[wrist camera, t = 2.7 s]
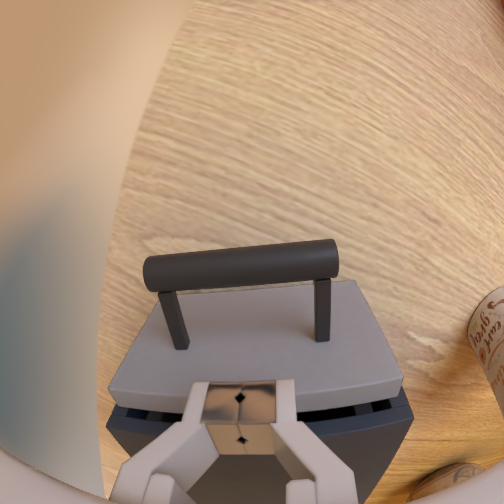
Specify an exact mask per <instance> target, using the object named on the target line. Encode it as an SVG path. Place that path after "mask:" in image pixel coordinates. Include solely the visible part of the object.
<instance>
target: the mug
mask: <svg viewBox="0 0 504 504" xmlns="http://www.w3.org/2000/svg"><path fill="white" fill-rule="evenodd" d="M468 340H469V342H470V344H471V346H472V348H473V350H474V352H475V354H476V356H477V358H478V360H479V362H480V364H481V366H482V368H483V370H484V373H485V375H486V377H487V379H488V381H489V383H490V386H491V388H492V390H493V393H494V395H495V397H496V400H497V402H498V405H499V407H500V410H501V412H502V415H503V417H504V287H500V288H498V289H496V290H494V291H493V292H491V293H490V294H489V295H488V296H487V297H486V298H485V299H484V300H483V301H482V302H481V304H480V305H479V306H478V308H477V309H476V311H475V313H474V315H473V316H472V319H471V321H470V324H469V328H468Z"/></svg>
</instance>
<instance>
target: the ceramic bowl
mask: <svg viewBox="0 0 504 504" xmlns="http://www.w3.org/2000/svg"><path fill="white" fill-rule="evenodd" d="M483 470H485V469H484V468H483V467H482V466H480V465H478V464H474V463H460V464H454V465H450V466H447V467H444V468H442V469H440V470H438V471H436V472H434V473H433V474H431V475H430V476H428V477H427V478H425V479H424V480H423V481H422V482H421V483H420V484H419V485H418V486H417V487H416V488H415V489H414V490H413V491H412V493H411V494H410V496H409V497H408V499H407V501H406V503H407V502H410V501H413V500H416V499H419V498H422V497H425V496H428V495H430V494H433V493H436V492H438V491H441V490H443V489H445V488H448V487H450V486H452V485H455V484H457V483H459V482H461V481H463V480H466V479H468V478H470V477H472V476H474V475H476V474H478V473H480V472H481V471H483Z"/></svg>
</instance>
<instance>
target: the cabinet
mask: <svg viewBox="0 0 504 504" xmlns="http://www.w3.org/2000/svg"><path fill="white" fill-rule="evenodd" d="M371 406H372V409H373V412H372V413H367V414H362V415H357V416H351V417H345V418H338V419H331V420H323V421H315V422H306V423H304V424H305V425H306V426H307V427H308V428H309V429H310V430H311V431H312V432H313V433H314V434H315V435H316V436H317V437H318V438H319V439H320V440H321V441H322V442H323V443H324V444H325V445H326V446H327V447H328V448H329V449H330V450H331V451H332V452H333V453H334V454H335V455H336V456H337V457H338V458H339V459H341V460H342V461H343V462H344V463H345V464H346V465H347V466H348V467H349V468H350V469H351V470H352V471H353V472H354V478H355V485H356V491H357V497H358V504H364V502H365V501H366V499H367V498H368V497H369V495H370V494H371V492H372V491H373V489H374V488H375V486H376V485H377V483H378V482H379V480H380V479H381V477H382V476H383V474H384V473H385V471H386V469H387V468H388V466H389V464H390V463H391V461H392V459H393V458H394V456H395V454H396V452H397V451H398V449H399V447H400V445H401V443H402V441H403V440H404V438H405V436H406V434H407V432H408V430H409V428H410V426H411V424H412V422H413V420H414V415H413V413H412V410H411V408H410V405H409V402H408V400H407V397H406V395H405V392H404V390H403V388H402V385H401V388H400V391H399V394H398V396H396V397H393V398H388V399H383V400H379V401H374V402H371ZM148 413H149V410H141V409H134V408H127V407H120V406H118V405H117V403H116V405H115V407H114V409H113V411H112V415H111V416H110V418H109V420H108V422H107V424H106V428H107V429H108V430H109V432H110V433H111V434H112V435H113V437H114V438H115V439H116V440H117V441H118V443H119V444H120V445H121V446H122V447H123V449H124V450H125V451H126V452H127V453H128V454H129V456H130V457H132V456H134V455H135V454H136V453H138V452H139V451H140V450H141V449H143V448H144V447H145V446H147V445H148V444H149V443H150V442H152V441H153V440H154V439H156V438H157V437H158V436H159V435H161V434H162V433H163V432H164V431H166V430H167V429H168V428H169V427H170V426H172V425H173V424H174V423H169V422H159V421H151V420H146V418H147V415H148ZM291 480H293V479H292V478H291V476H290V475H289V474H288V472H287V471H286V470H285V468H284V467H283V466H282V464H281V463H280V462H279V460H278V459H277V458H276V456H275V454H268V455H252V454H240V455H226V454H219V457H218V458H217V459H216V460H215V461H214V463H213V464H212V465H211V466H210V467H209V468H208V470H207V471H206V472H205V473H204V474H203V475H202V476H201V477H200V478H199V480H198V481H197V482H196V483H195V484H194V485H193V486H192V487H191V488H190V489H189V490H188V491H187V492H186V493H187V494H188V495H189V496H190V497H191V498H192V499H193V500H194V501H195V502H196V503H197V504H286V484H288V483H289V482H290V481H291Z"/></svg>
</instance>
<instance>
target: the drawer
mask: <svg viewBox="0 0 504 504" xmlns="http://www.w3.org/2000/svg"><path fill="white" fill-rule="evenodd" d="M338 272H339V257H338V250H337V246H336V243H335V241H334V240H333V239H324V240H313V241H303V242H292V243H281V244H270V245H260V246H249V247H239V248H228V249H218V250H207V251H197V252H187V253H177V254H167V255H157V256H149V257H147V258H146V260H145V262H144V266H143V278H144V282H145V285H146V287H147V289H148V290H149V291H151V292H158V297H159V301H158V302H157V304H156V306H155V307H154V309H153V311H152V312H151V314H150V316H149V317H148V319H147V320H146V322H145V324H144V325H143V327H142V329H141V330H140V332H139V334H138V336H137V337H136V339H135V341H134V342H133V344H132V346H131V347H130V349H129V351H128V353H127V354H126V356H125V358H124V360H123V361H122V363H121V365H120V367H119V368H118V370H117V372H116V374H115V376H114V377H113V379H112V381H111V383H110V385H109V386H108V390H109V392H110V394H111V395H112V397H113V399H114V400H115V402H116V403H117V405H118V406H120V407H127V408H134V409H141V410H149V413H148V415H147V418H146V420H151V421H159V422H169V423H175V422H181V420H182V417H183V413H184V410H185V406H186V403H187V399H188V396H189V393H190V389H191V386H192V384H193V383H194V381H203V382H243V381H260V380H275V379H288V378H293V379H294V386H295V400H296V415H297V421H302V422H303V423H306V422H315V421H323V420H331V419H338V418H345V417H351V416H357V415H362V414H367V413H372V412H373V409H372V406H371V402H374V401H379V400H383V399H388V398H393V397H396V396H398V394H399V391H400V388H401V385H402V382H403V378H404V376H403V374H402V371H401V369H400V367H399V365H398V363H397V361H396V359H395V356H394V354H393V352H392V350H391V348H390V346H389V344H388V342H387V340H386V338H385V336H384V334H383V332H382V330H381V328H380V326H379V324H378V322H377V320H376V318H375V316H374V315H373V313H372V311H371V309H370V307H369V305H368V303H367V301H366V299H365V298H364V296H363V294H362V292H361V290H360V288H359V287H358V285H357V283H356V281H355V280H347V281H338V282H331V279H330V278H335V277H337V275H338ZM308 280H314V284H310V285H299V286H289V287H278V288H266V289H254V290H241V291H228V292H213V293H198V294H181V295H177V294H176V291H182V290H198V289H213V288H227V287H240V286H253V285H265V284H276V283H287V282H298V281H308Z"/></svg>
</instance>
